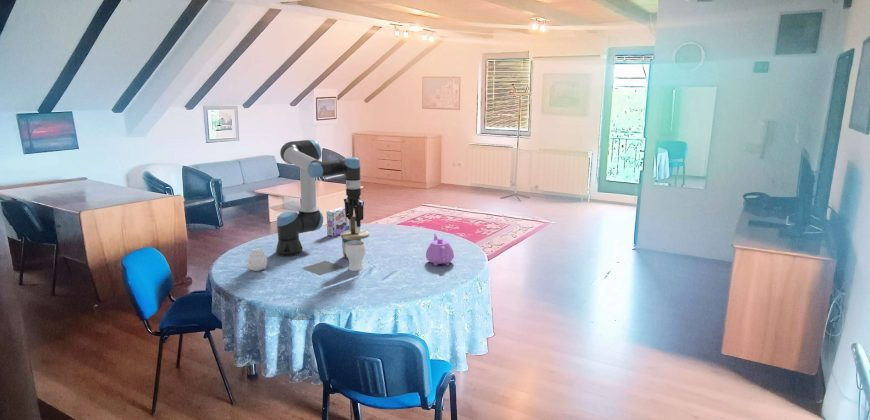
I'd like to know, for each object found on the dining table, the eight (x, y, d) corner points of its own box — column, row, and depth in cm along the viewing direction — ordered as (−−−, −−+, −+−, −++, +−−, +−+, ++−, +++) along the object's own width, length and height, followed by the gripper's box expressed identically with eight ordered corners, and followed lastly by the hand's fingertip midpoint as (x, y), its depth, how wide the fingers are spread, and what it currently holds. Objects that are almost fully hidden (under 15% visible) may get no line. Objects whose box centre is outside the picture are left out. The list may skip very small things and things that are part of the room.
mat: (301, 269, 284) (301, 268, 283) (325, 262, 295) (325, 260, 295) (320, 276, 274) (319, 275, 273) (344, 268, 285) (344, 267, 285)
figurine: (272, 268, 286) (270, 246, 284) (260, 274, 277) (259, 252, 275) (256, 266, 290) (254, 244, 287) (244, 271, 281) (243, 250, 278)
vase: (357, 262, 296) (356, 229, 291) (339, 260, 298) (338, 227, 293) (364, 256, 306) (363, 224, 301) (346, 255, 308) (345, 223, 304)
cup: (364, 273, 278) (363, 246, 275) (344, 273, 279) (343, 246, 275) (367, 266, 289) (366, 240, 285) (347, 266, 289) (346, 240, 285)
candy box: (333, 236, 344) (332, 212, 340) (327, 235, 347) (325, 210, 343) (348, 232, 355) (347, 208, 351) (341, 230, 358) (340, 206, 354)
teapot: (421, 257, 305) (421, 233, 302) (447, 255, 309) (448, 232, 305) (430, 269, 284) (430, 245, 281) (458, 267, 288) (458, 243, 285)
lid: (334, 236, 278) (333, 217, 276) (356, 230, 289) (355, 211, 287) (353, 241, 269) (352, 221, 266) (375, 235, 280) (374, 216, 277)
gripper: (336, 186, 276) (338, 230, 281) (358, 191, 265) (360, 236, 270) (348, 184, 281) (349, 227, 287) (370, 188, 271) (371, 233, 276)
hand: (354, 231), depth 279 cm, fingers closed on lid, 4 cm apart
